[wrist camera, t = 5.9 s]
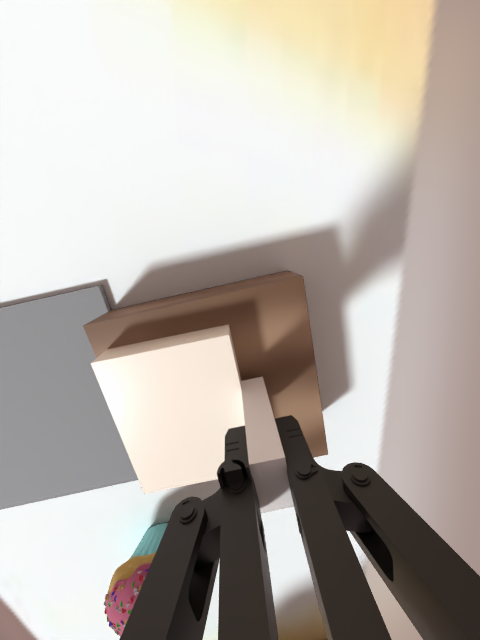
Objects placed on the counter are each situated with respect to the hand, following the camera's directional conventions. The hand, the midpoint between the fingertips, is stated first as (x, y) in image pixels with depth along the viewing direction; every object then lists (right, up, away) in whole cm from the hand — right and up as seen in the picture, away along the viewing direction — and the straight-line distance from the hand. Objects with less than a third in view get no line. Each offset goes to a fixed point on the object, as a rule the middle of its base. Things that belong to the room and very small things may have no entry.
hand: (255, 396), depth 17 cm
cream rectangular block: (-5, -1, +1) cm, 5 cm away
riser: (-3, +1, +5) cm, 6 cm away
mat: (-18, -3, +5) cm, 19 cm away
